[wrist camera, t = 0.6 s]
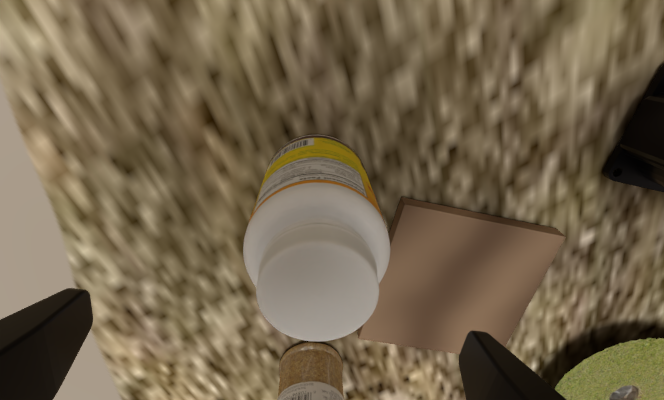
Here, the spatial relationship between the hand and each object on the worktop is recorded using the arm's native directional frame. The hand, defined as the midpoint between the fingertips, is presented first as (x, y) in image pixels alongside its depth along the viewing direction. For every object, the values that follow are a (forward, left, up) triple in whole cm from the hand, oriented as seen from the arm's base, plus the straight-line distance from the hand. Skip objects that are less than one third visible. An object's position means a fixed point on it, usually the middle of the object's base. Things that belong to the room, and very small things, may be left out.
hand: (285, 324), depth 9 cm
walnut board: (-11, +6, -13) cm, 18 cm away
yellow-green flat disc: (-26, +12, -13) cm, 32 cm away
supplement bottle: (-1, +1, -13) cm, 13 cm away
